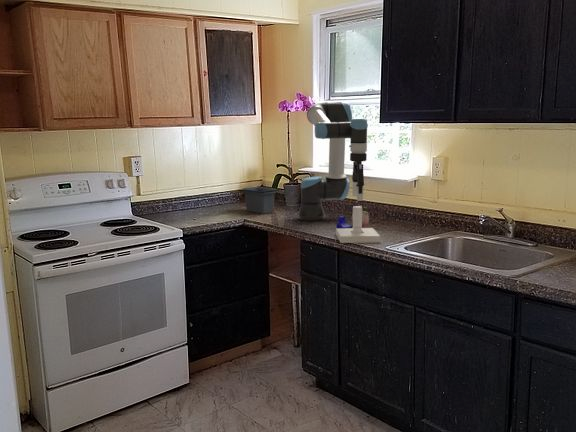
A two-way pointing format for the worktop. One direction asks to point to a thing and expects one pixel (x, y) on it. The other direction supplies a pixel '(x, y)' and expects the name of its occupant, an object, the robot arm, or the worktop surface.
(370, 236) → the socket block
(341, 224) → the blue shoe
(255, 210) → the storage bin
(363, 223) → the decorative fruit
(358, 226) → the tube
